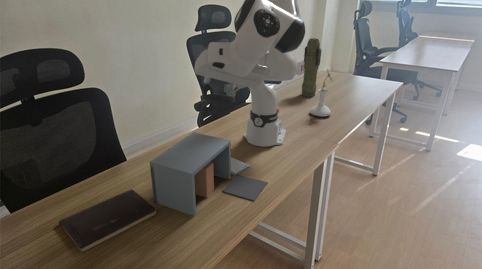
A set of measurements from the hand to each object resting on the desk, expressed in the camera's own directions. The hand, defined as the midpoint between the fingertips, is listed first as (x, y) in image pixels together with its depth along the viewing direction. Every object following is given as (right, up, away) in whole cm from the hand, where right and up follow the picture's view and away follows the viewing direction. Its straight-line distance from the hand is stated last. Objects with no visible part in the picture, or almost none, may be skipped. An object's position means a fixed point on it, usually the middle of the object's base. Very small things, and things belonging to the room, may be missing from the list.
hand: (220, 85), depth 100 cm
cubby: (-10, -34, +13) cm, 38 cm away
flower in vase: (+50, -4, +80) cm, 94 cm away
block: (-6, -35, +11) cm, 37 cm away
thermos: (+49, +10, +110) cm, 121 cm away
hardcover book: (-33, -41, -2) cm, 53 cm away
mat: (+8, -34, +14) cm, 37 cm away
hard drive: (+2, -28, +28) cm, 40 cm away
